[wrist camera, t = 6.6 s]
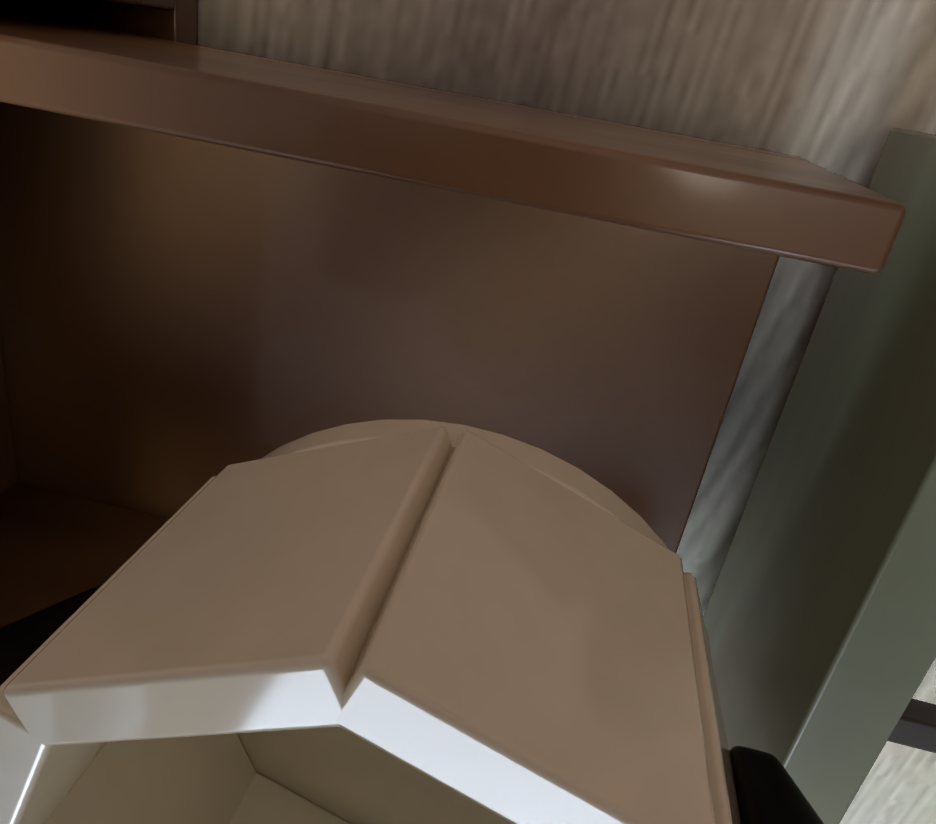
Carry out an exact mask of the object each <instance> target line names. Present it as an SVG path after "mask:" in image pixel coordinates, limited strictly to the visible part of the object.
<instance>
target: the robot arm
mask: <svg viewBox="0 0 936 824" xmlns="http://www.w3.org/2000/svg"><path fill="white" fill-rule="evenodd" d="M103 584H104V583H102V584H100V585H98V586H95V587H93V588H91V589H88V590H86V591H84V592H82V593H79V594H77V595H75V596H72V597H70V598H68V599H65V600H63V601H61V602H58V603H56V604H54V605H52V606H49V607H47V608H45V609H42V610H40V611H38V612H35V613H33V614H31V615H29V616H26V617H24V618H22V619H19V620H17V621H15V622H12V623H10V624H8V625H6V626H3V627H1V628H0V685H1V684H2V683H3V682H4V681H5V680H6V679H7V678H8V677H9V676H10V675H11V674H12V673H13V672H14V671H15V670H16V669H17V668H18V667H19V666H20V665H21V664H22V663H23V662H25V661H26V660H27V659H28V658H29V657H30V656H31V655H32V654H33V653H34V652H35V651H36V650H37V649H38V648H39V647H40V646H41V645H42V644H43V643H44V642H45V641H46V640H47V639H48V638H49V637H50V636H51V635H52V634H53V633H54V632H55V631H56V630H57V629H58V628H59V627H60V626H61V625H62V624H63V623H64V622H65V621H66V620H67V619H68V618H69V617H70V616H71V615H72V614H73V613H74V612H75V611H76V610H77V609H78V608H79V607H80V606H81V605H82V604H83V603H84V602H85V601H86V600H87V599H88V598H89V597H90V596H91V595H92V594H93V593H94V592H95V591H96V590H97V589H99V588H100V587H101V586H102V585H103ZM729 752H730V758H731V764H732V770H733V777H734V783H735V789H736V795H737V801H738V807H739V814H740V820H741V824H824V823H823V821H822V820H821V818H820V817H819V816H818V814H817V813H816V811H815V810H814V809H813V807H812V806H811V804H810V803H809V802H808V800H807V799H806V797H805V796H804V795H803V793H802V792H801V790H800V789H799V788H798V786H797V785H796V783H795V782H794V781H793V779H792V778H791V776H790V775H789V774H788V772H787V771H786V769H785V768H784V766H783V765H782V764H781V762H780V761H779V760H778V759H777V758H776V757H775V756H774V755H772V754H770V753H767V752H763V751H759V750H756V749H752V748H748V747H744V746H740V745H739V746H734V747H732V748H731V749H730V750H729Z"/></svg>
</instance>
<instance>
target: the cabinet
mask: <svg viewBox="0 0 936 824" xmlns="http://www.w3.org/2000/svg"><path fill="white" fill-rule="evenodd" d="M0 9H3V10H8V11H14V12H19V13H25V14H30V15H35V16H41V17H46V18H52V19H57V20H63V21H68V22H73V23H79V24H84V25H90V26H95V27H100V28H106V29H111V30H117V31H122V32H127V33H133V34H138V35H144V36H149V37H154V38H160V39H165V40H171V41H176V42H181V43H187V44H192V45H197V0H0Z"/></svg>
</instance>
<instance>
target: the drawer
mask: <svg viewBox="0 0 936 824" xmlns="http://www.w3.org/2000/svg"><path fill="white" fill-rule="evenodd" d="M779 256H782V257H787V258H793V259H798V260H803V261H808V262H813V263H818V264H823V265H828V266H833V267H838V269H837V271H836V274H835V276H834V279H833V282H832V284H831V287H830V289H829V292H828V295H827V297H826V300H825V302H824V305H823V308H822V310H821V313H820V315H819V318H818V321H817V323H816V326H815V328H814V331H813V334H812V336H811V339H810V341H809V344H808V346H807V349H806V352H805V354H804V357H803V359H802V362H801V365H800V367H799V370H798V372H797V375H796V378H795V380H794V383H793V385H792V388H791V391H790V393H789V396H788V398H787V401H786V404H785V406H784V409H783V411H782V414H781V416H780V419H779V422H778V424H777V427H776V429H775V432H774V435H773V437H772V440H771V442H770V445H769V448H768V450H767V453H766V455H765V458H764V461H763V463H762V466H761V468H760V471H759V474H758V476H757V479H756V481H755V484H754V487H753V489H752V492H751V494H750V497H749V499H748V502H747V505H746V507H745V510H744V512H743V515H742V518H741V520H740V523H739V525H738V528H737V531H736V533H735V536H734V538H733V541H732V544H731V546H730V549H729V551H728V554H727V557H726V559H725V562H724V564H723V567H722V570H721V572H720V575H719V577H718V580H717V582H716V585H715V588H714V590H713V593H712V595H711V598H710V601H709V603H708V606H707V608H706V611H705V614H704V616H703V619H704V623H705V627H706V630H707V634H708V638H709V644H710V651H711V657H712V664H713V670H714V675H715V680H716V685H717V690H718V695H719V701H720V706H721V711H722V716H723V721H724V726H725V731H726V736H727V741H728V747H729V750H730V749H731V748H732V747H734V746H739V745H740V746H744V747H748V748H752V749H756V750H759V751H763V752H767V753H770V754H772V755H774V756H775V757H776V758H777V759H778V760H779V761H780V762H781V764H782V765H783V766H784V768H785V769H786V771H787V772H788V774H789V775H790V776H791V778H792V779H793V781H794V782H795V783H796V785H797V786H798V788H799V789H800V790H801V792H802V793H803V795H804V796H805V797H806V799H807V800H808V802H809V803H810V804H811V806H812V807H813V809H814V810H815V811H816V813H817V814H818V816H819V817H820V818H821V820H822V821H823V823H824V824H839V823H840V821H841V819H842V818H843V816H844V814H845V812H846V811H847V809H848V807H849V806H850V804H851V802H852V800H853V799H854V797H855V795H856V793H857V792H858V790H859V788H860V787H861V785H862V783H863V781H864V780H865V778H866V776H867V775H868V773H869V771H870V769H871V768H872V766H873V764H874V762H875V761H876V759H877V757H878V756H879V754H880V752H881V750H882V749H883V747H884V745H885V743H886V742H887V741H890V742H894V743H898V744H902V745H906V746H910V747H914V748H918V749H922V750H926V751H929V752H933V753H936V705H935V704H931V703H927V702H923V701H919V700H915V699H912V697H913V695H914V693H915V692H916V690H917V688H918V687H919V685H920V683H921V681H922V680H923V678H924V676H925V675H926V673H927V671H928V669H929V668H930V666H931V664H932V662H933V661H934V659H935V657H936V135H933V134H927V133H922V132H916V131H911V130H905V129H900V128H893V129H892V130H891V131H890V134H889V136H888V139H887V142H886V144H885V147H884V149H883V152H882V155H881V157H880V160H879V162H878V165H877V168H876V170H875V173H874V175H873V178H872V180H871V183H870V186H869V188H866V187H864V186H862V185H859V184H857V183H855V182H853V181H851V180H848V179H846V178H844V177H842V176H839V175H837V174H835V173H833V172H831V171H828V170H826V169H824V168H822V167H820V166H817V165H815V164H813V163H811V162H810V161H808V160H806V159H803V158H801V157H798V156H793V155H787V154H782V153H776V152H771V151H765V150H760V149H755V148H749V147H744V146H738V145H733V144H728V143H722V142H717V141H711V140H706V139H701V138H695V137H690V136H684V135H679V134H674V133H668V132H663V131H657V130H652V129H647V128H641V127H636V126H630V125H625V124H619V123H614V122H609V121H603V120H598V119H592V118H587V117H582V116H576V115H571V114H565V113H560V112H555V111H549V110H544V109H538V108H533V107H528V106H522V105H517V104H511V103H506V102H501V101H495V100H490V99H484V98H479V97H473V96H468V95H463V94H457V93H452V92H446V91H441V90H436V89H430V88H425V87H419V86H414V85H409V84H403V83H398V82H392V81H387V80H382V79H376V78H371V77H365V76H360V75H355V74H349V73H344V72H338V71H333V70H327V69H322V68H317V67H311V66H306V65H300V64H295V63H290V62H284V61H279V60H273V59H268V58H263V57H257V56H252V55H246V54H241V53H236V52H230V51H225V50H219V49H214V48H209V47H203V46H198V45H192V44H187V43H181V42H176V41H171V40H165V39H160V38H154V37H149V36H144V35H138V34H133V33H127V32H122V31H117V30H111V29H106V28H100V27H95V26H90V25H84V24H79V23H73V22H68V21H63V20H57V19H52V18H46V17H41V16H35V15H30V14H25V13H19V12H14V11H8V10H3V9H0V628H1V627H3V626H6V625H8V624H10V623H12V622H15V621H17V620H19V619H22V618H24V617H26V616H29V615H31V614H33V613H35V612H38V611H40V610H42V609H45V608H47V607H49V606H52V605H54V604H56V603H58V602H61V601H63V600H65V599H68V598H70V597H72V596H75V595H77V594H79V593H82V592H84V591H86V590H88V589H91V588H93V587H95V586H98V585H100V584H102V583H105V582H106V581H107V580H108V579H109V578H110V577H111V576H112V575H113V574H114V573H115V572H116V571H117V570H118V569H119V568H120V567H121V566H122V565H123V564H124V563H125V562H126V561H127V560H128V559H129V558H130V557H131V556H132V555H133V554H134V553H135V552H136V551H137V550H138V549H139V548H140V547H141V546H142V545H143V544H144V543H145V542H146V541H147V540H148V539H149V538H150V537H151V536H152V535H153V534H154V533H155V532H156V531H157V530H158V529H159V528H160V527H161V526H162V525H163V524H164V523H165V522H166V521H167V520H168V519H169V518H170V517H171V516H173V515H174V514H175V513H176V512H177V511H178V510H179V509H180V508H181V507H182V506H183V505H184V504H185V503H186V502H187V501H188V500H189V499H190V498H191V497H192V496H193V495H194V494H195V493H196V492H197V491H198V490H199V489H200V488H201V487H202V486H203V485H204V484H205V483H206V482H207V481H208V480H209V479H210V478H212V477H213V476H217V475H218V474H219V473H220V472H221V471H222V470H223V469H224V468H225V467H226V466H228V465H231V464H237V463H242V462H248V461H253V460H259V459H261V458H263V457H264V456H266V455H267V454H269V453H271V452H272V451H274V450H276V449H277V448H279V447H281V446H283V445H285V444H287V443H290V442H292V441H295V440H297V439H299V438H302V437H304V436H306V435H309V434H311V433H314V432H318V431H322V430H326V429H330V428H333V427H337V426H341V425H345V424H351V423H359V422H368V421H376V420H384V419H420V420H432V421H440V422H448V423H455V424H463V425H467V426H472V427H476V428H480V429H484V430H488V431H492V432H496V433H500V434H503V435H506V436H509V437H511V438H514V439H517V440H519V441H522V442H525V443H527V444H530V445H533V446H535V447H538V448H541V449H543V450H545V451H547V452H548V453H550V454H552V455H554V456H556V457H558V458H560V459H562V460H564V461H566V462H568V463H570V464H572V465H574V466H576V467H577V468H579V469H580V470H582V471H583V472H585V473H586V474H588V475H589V476H591V477H592V478H594V479H595V480H597V481H598V482H600V483H601V484H602V485H604V486H605V487H607V488H608V489H610V490H611V491H612V492H613V493H614V494H616V495H617V496H618V497H619V498H620V499H621V500H622V501H624V502H625V503H626V504H627V505H628V506H629V507H630V508H632V509H633V510H634V511H635V512H636V513H637V514H638V515H640V516H641V517H642V518H643V520H644V521H645V522H646V523H647V524H648V525H649V526H650V528H651V529H652V530H653V531H654V532H655V533H656V534H657V536H658V537H659V538H660V539H661V540H662V541H663V542H664V544H665V545H666V546H667V548H668V549H669V550H671V551H672V552H674V553H676V552H677V549H678V547H679V544H680V541H681V538H682V535H683V532H684V529H685V526H686V524H687V521H688V518H689V515H690V512H691V509H692V506H693V504H694V501H695V498H696V495H697V492H698V489H699V486H700V483H701V481H702V478H703V475H704V472H705V469H706V466H707V463H708V460H709V458H710V455H711V452H712V449H713V446H714V443H715V440H716V437H717V435H718V432H719V429H720V426H721V423H722V420H723V417H724V414H725V412H726V409H727V406H728V403H729V400H730V397H731V394H732V391H733V389H734V386H735V383H736V380H737V377H738V374H739V371H740V369H741V366H742V363H743V360H744V357H745V354H746V351H747V348H748V346H749V343H750V340H751V337H752V334H753V331H754V328H755V325H756V323H757V320H758V317H759V314H760V311H761V308H762V305H763V302H764V300H765V297H766V294H767V291H768V288H769V285H770V282H771V279H772V277H773V274H774V271H775V268H776V265H777V262H778V259H779Z"/></svg>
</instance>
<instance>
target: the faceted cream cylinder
mask: <svg viewBox="0 0 936 824" xmlns="http://www.w3.org/2000/svg"><path fill="white" fill-rule="evenodd" d="M0 824H741V820H740V814H739V807H738V801H737V795H736V789H735V783H734V777H733V770H732V764H731V758H730V752H729V747H728V741H727V736H726V731H725V726H724V721H723V716H722V711H721V706H720V701H719V695H718V690H717V685H716V680H715V675H714V670H713V664H712V657H711V651H710V644H709V638H708V634H707V630H706V627H705V623H704V619H703V614H702V609H701V603H700V598H699V593H698V588H697V583H696V578H695V577H694V576H693V574H692V573H684V572H683V567H682V559H681V558H680V556H679V555H678V554H676V553H674V552H672V551H671V550H669V549H668V548H667V546H666V545H665V544H664V542H663V541H662V540H661V539H660V538H659V537H658V536H657V534H656V533H655V532H654V531H653V530H652V529H651V528H650V526H649V525H648V524H647V523H646V522H645V521H644V520H643V518H642V517H641V516H640V515H638V514H637V513H636V512H635V511H634V510H633V509H632V508H630V507H629V506H628V505H627V504H626V503H625V502H624V501H622V500H621V499H620V498H619V497H618V496H617V495H616V494H614V493H613V492H612V491H611V490H610V489H608V488H607V487H605V486H604V485H602V484H601V483H600V482H598V481H597V480H595V479H594V478H592V477H591V476H589V475H588V474H586V473H585V472H583V471H582V470H580V469H579V468H577V467H576V466H574V465H572V464H570V463H568V462H566V461H564V460H562V459H560V458H558V457H556V456H554V455H552V454H550V453H548V452H547V451H545V450H543V449H541V448H538V447H535V446H533V445H530V444H527V443H525V442H522V441H519V440H517V439H514V438H511V437H509V436H506V435H503V434H500V433H496V432H492V431H488V430H484V429H480V428H476V427H472V426H467V425H463V424H455V423H448V422H440V421H432V420H420V419H384V420H376V421H368V422H359V423H351V424H345V425H341V426H337V427H333V428H330V429H326V430H322V431H318V432H314V433H311V434H309V435H306V436H304V437H302V438H299V439H297V440H295V441H292V442H290V443H287V444H285V445H283V446H281V447H279V448H277V449H276V450H274V451H272V452H271V453H269V454H267V455H266V456H264V457H263V458H261V459H259V460H253V461H248V462H242V463H237V464H231V465H228V466H226V467H225V468H224V469H223V470H222V471H221V472H220V473H219V474H218V475H217V476H213V477H212V478H210V479H209V480H208V481H207V482H206V483H205V484H204V485H203V486H202V487H201V488H200V489H199V490H198V491H197V492H196V493H195V494H194V495H193V496H192V497H191V498H190V499H189V500H188V501H187V502H186V503H185V504H184V505H183V506H182V507H181V508H180V509H179V510H178V511H177V512H176V513H175V514H174V515H173V516H171V517H170V518H169V519H168V520H167V521H166V522H165V523H164V524H163V525H162V526H161V527H160V528H159V529H158V530H157V531H156V532H155V533H154V534H153V535H152V536H151V537H150V538H149V539H148V540H147V541H146V542H145V543H144V544H143V545H142V546H141V547H140V548H139V549H138V550H137V551H136V552H135V553H134V554H133V555H132V556H131V557H130V558H129V559H128V560H127V561H126V562H125V563H124V564H123V565H122V566H121V567H120V568H119V569H118V570H117V571H116V572H115V573H114V574H113V575H112V576H111V577H110V578H109V579H108V580H107V581H106V582H105V583H104V584H103V585H102V586H101V587H100V588H99V589H97V590H96V591H95V592H94V593H93V594H92V595H91V596H90V597H89V598H88V599H87V600H86V601H85V602H84V603H83V604H82V605H81V606H80V607H79V608H78V609H77V610H76V611H75V612H74V613H73V614H72V615H71V616H70V617H69V618H68V619H67V620H66V621H65V622H64V623H63V624H62V625H61V626H60V627H59V628H58V629H57V630H56V631H55V632H54V633H53V634H52V635H51V636H50V637H49V638H48V639H47V640H46V641H45V642H44V643H43V644H42V645H41V646H40V647H39V648H38V649H37V650H36V651H35V652H34V653H33V654H32V655H31V656H30V657H29V658H28V659H27V660H26V661H25V662H23V663H22V664H21V665H20V666H19V667H18V668H17V669H16V670H15V671H14V672H13V673H12V674H11V675H10V676H9V677H8V678H7V679H6V680H5V681H4V682H3V683H2V684H1V685H0Z"/></svg>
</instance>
